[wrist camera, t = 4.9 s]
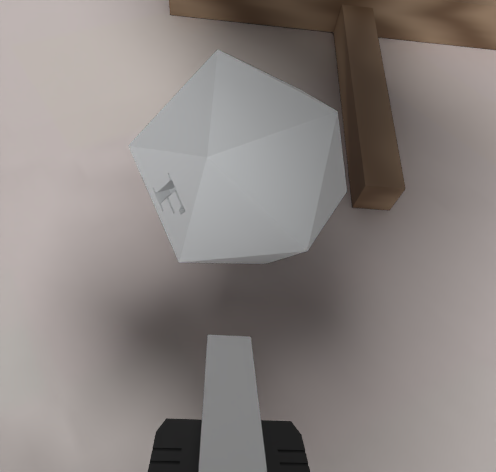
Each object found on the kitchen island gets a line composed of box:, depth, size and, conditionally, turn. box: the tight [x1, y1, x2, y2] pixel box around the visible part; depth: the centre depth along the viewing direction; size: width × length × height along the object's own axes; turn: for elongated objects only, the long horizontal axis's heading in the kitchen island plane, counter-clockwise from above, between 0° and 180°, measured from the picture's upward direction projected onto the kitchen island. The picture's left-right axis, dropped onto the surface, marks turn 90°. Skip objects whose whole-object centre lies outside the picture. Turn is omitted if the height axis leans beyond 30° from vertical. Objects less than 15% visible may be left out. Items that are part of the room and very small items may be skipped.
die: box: [129, 49, 347, 264], centre depth 18 cm, size 8×9×10 cm
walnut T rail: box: [169, 0, 496, 210], centre depth 25 cm, size 24×16×3 cm, turn 89°
